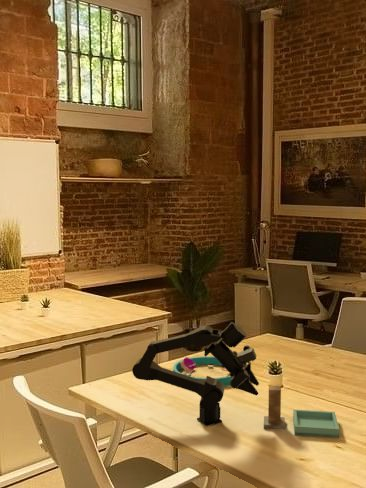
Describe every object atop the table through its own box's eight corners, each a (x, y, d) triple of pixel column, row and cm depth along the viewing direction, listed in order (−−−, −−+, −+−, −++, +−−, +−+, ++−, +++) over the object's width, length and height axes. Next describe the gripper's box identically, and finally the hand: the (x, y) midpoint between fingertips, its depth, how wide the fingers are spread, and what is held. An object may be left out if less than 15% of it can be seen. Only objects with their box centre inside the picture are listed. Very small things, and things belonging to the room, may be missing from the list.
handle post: (263, 428, 189) (264, 391, 188) (264, 420, 196) (264, 383, 195) (285, 430, 188) (285, 392, 187) (284, 421, 195) (285, 384, 194)
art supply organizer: (191, 361, 263) (191, 348, 262) (253, 370, 250) (253, 357, 249) (160, 381, 236) (160, 367, 236) (228, 392, 223) (228, 378, 223)
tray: (294, 435, 184) (294, 426, 184) (293, 417, 198) (293, 409, 198) (339, 438, 182) (339, 429, 182) (334, 420, 196) (334, 411, 196)
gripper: (240, 348, 182) (275, 383, 181) (243, 333, 200) (275, 365, 199) (216, 371, 184) (250, 406, 183) (221, 354, 202) (252, 385, 201)
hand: (257, 389), depth 192 cm, fingers open, 9 cm apart
